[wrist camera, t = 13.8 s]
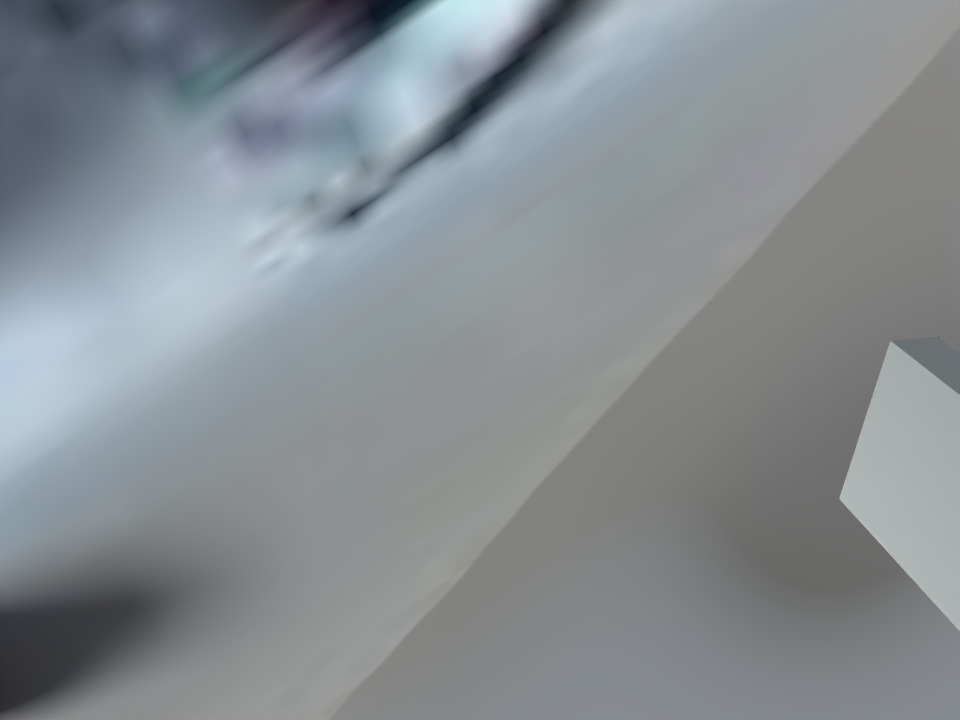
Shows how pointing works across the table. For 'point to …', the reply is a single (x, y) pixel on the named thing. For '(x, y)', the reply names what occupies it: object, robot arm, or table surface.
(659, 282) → the table surface
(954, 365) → the robot arm
